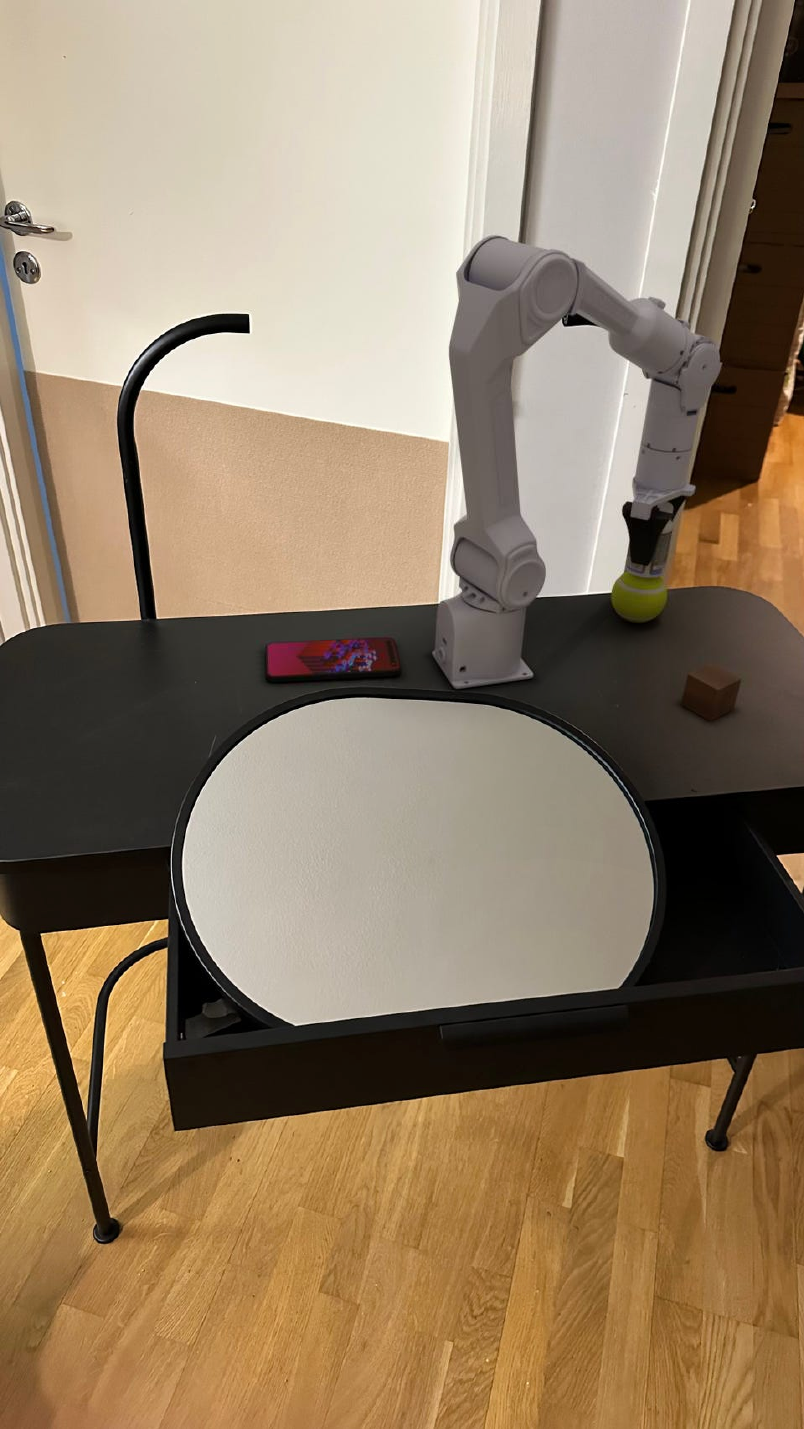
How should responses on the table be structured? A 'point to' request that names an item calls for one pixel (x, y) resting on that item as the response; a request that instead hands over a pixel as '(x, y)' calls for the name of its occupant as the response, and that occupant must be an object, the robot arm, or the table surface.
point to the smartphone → (332, 659)
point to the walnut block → (711, 691)
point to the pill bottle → (661, 552)
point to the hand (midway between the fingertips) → (646, 555)
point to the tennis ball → (638, 597)
